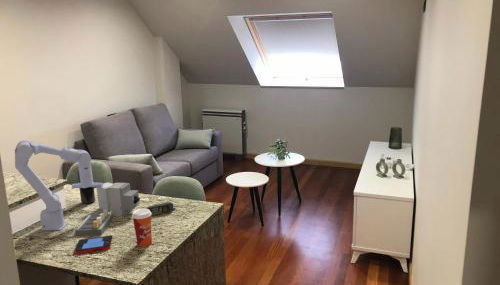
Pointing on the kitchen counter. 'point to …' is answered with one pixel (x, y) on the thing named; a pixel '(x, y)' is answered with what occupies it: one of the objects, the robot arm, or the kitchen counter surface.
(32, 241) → the kitchen counter surface
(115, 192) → the circuit breaker
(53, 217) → the robot arm
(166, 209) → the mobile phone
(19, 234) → the kitchen counter surface
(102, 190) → the supplement box
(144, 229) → the coffee cup
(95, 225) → the block
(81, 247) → the game console
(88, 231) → the breaker panel
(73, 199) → the kitchen counter surface
